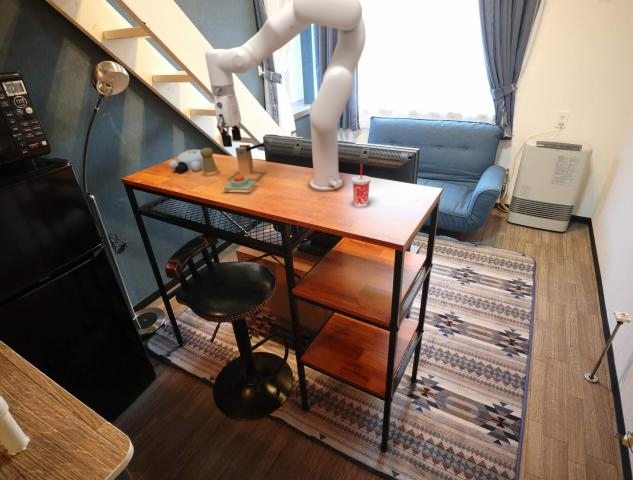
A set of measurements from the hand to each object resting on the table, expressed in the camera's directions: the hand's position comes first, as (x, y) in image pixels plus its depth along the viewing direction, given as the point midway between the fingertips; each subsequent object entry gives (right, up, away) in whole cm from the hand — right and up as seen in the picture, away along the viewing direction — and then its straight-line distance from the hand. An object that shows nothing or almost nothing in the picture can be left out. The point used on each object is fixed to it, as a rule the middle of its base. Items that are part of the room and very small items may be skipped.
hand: (232, 143), depth 124 cm
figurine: (-26, -3, +34) cm, 43 cm away
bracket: (+1, -8, +22) cm, 23 cm away
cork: (-16, -6, +28) cm, 33 cm away
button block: (+1, -15, +9) cm, 18 cm away
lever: (+5, +1, +15) cm, 16 cm away
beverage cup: (+45, -23, -8) cm, 52 cm away
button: (+1, -12, +7) cm, 14 cm away
